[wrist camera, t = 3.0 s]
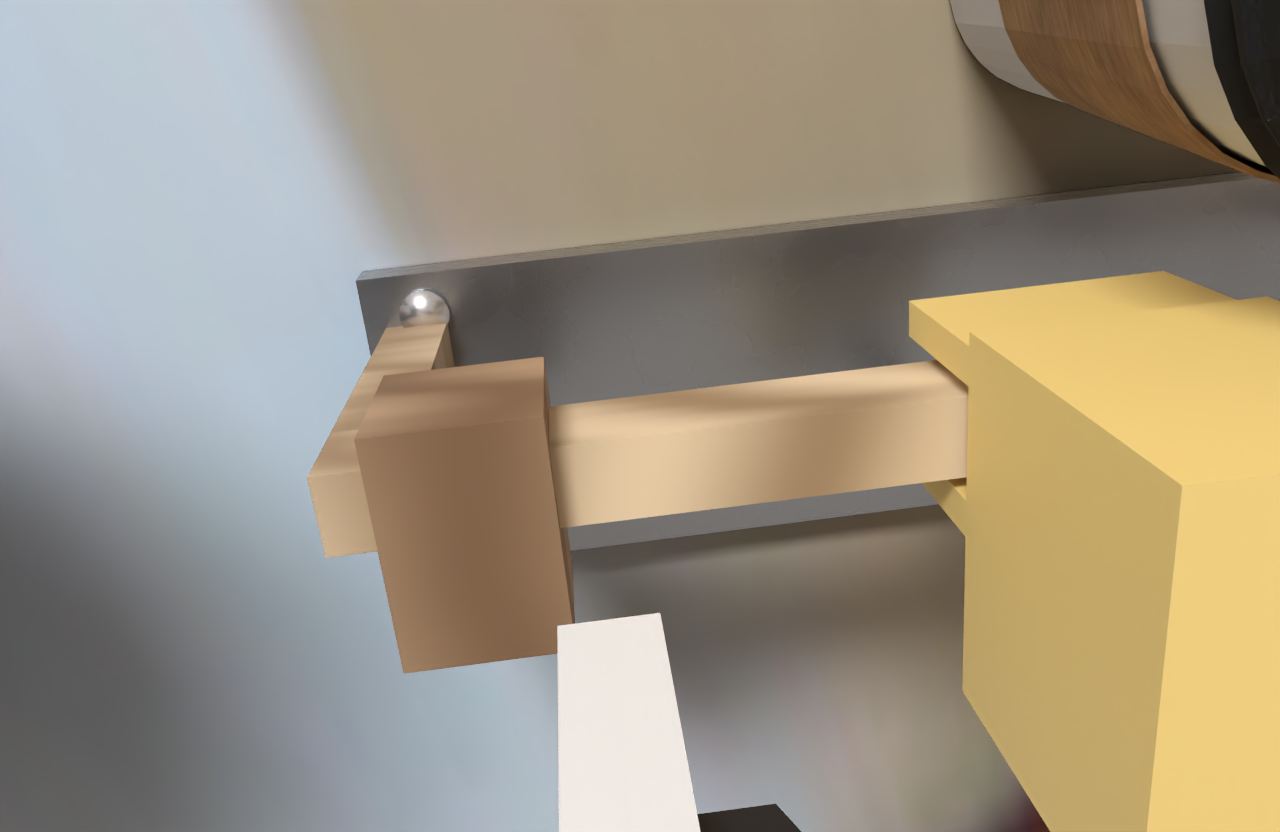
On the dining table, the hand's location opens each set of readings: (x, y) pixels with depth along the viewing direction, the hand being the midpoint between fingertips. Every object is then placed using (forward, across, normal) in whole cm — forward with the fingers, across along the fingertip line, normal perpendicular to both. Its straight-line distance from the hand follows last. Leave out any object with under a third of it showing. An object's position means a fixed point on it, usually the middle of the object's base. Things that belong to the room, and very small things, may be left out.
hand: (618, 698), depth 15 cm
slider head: (+12, +9, +1) cm, 15 cm away
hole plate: (+13, +10, 0) cm, 16 cm away
